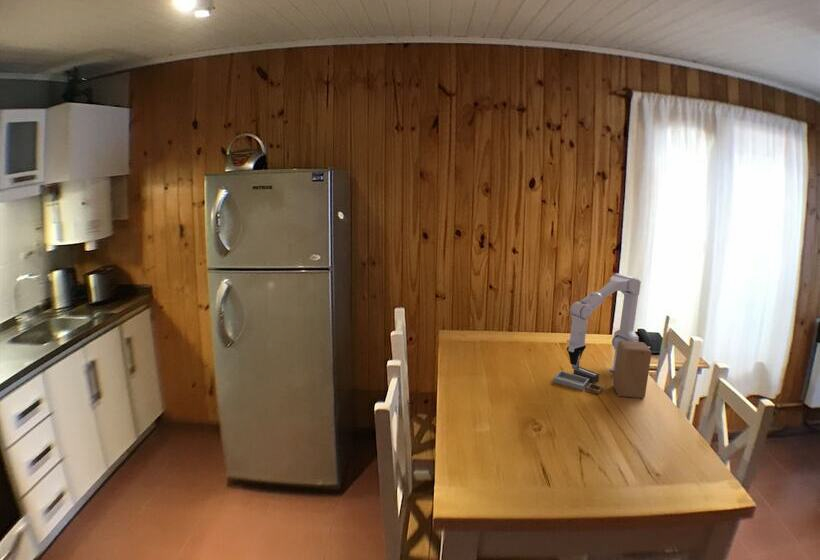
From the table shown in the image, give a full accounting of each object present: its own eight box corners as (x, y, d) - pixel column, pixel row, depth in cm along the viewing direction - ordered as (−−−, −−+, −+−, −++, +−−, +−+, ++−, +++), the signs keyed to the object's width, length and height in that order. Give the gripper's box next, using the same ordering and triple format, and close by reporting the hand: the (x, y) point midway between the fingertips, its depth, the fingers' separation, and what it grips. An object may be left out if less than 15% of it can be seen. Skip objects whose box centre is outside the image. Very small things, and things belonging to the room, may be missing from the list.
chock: (598, 381, 188) (599, 373, 187) (592, 384, 185) (593, 376, 184) (578, 374, 195) (579, 366, 194) (573, 377, 192) (573, 369, 191)
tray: (588, 383, 185) (589, 378, 185) (582, 391, 179) (583, 386, 178) (560, 375, 192) (560, 370, 192) (553, 382, 186) (553, 377, 186)
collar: (602, 389, 180) (603, 386, 180) (599, 394, 176) (599, 391, 176) (589, 386, 183) (590, 382, 183) (586, 390, 179) (586, 387, 179)
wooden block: (645, 399, 173) (652, 351, 168) (617, 396, 175) (624, 349, 170) (638, 387, 182) (644, 341, 178) (611, 385, 184) (617, 339, 180)
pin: (581, 368, 184) (581, 351, 183) (578, 370, 181) (579, 354, 180) (572, 366, 186) (573, 350, 185) (569, 368, 184) (570, 352, 182)
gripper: (574, 324, 188) (571, 354, 192) (562, 334, 177) (558, 366, 181) (591, 328, 184) (587, 359, 188) (580, 338, 173) (576, 371, 176)
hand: (574, 362), depth 184 cm, fingers closed on pin, 3 cm apart
